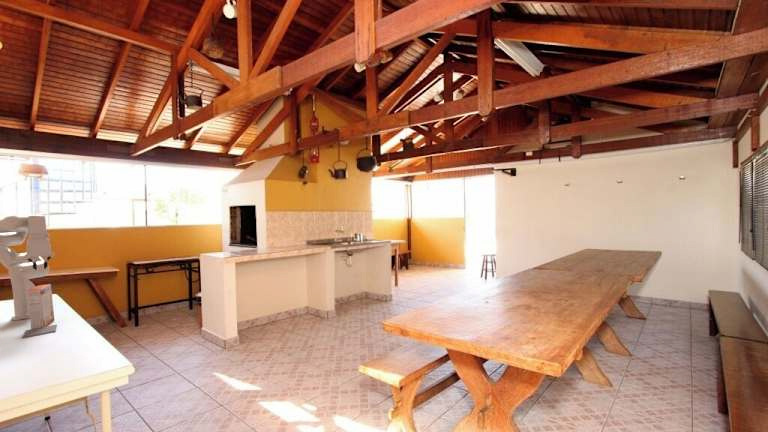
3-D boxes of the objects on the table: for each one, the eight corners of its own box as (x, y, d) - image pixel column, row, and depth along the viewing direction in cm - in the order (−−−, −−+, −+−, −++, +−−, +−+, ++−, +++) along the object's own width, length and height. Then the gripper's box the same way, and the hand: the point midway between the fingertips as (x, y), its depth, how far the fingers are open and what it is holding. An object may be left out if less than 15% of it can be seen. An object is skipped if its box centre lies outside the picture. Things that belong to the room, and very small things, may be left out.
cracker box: (41, 322, 204) (38, 285, 203) (55, 320, 207) (52, 283, 206) (29, 329, 191) (26, 290, 190) (44, 327, 194) (41, 288, 193)
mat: (25, 331, 189) (25, 330, 189) (56, 325, 197) (56, 324, 197) (22, 338, 178) (22, 337, 178) (55, 331, 186) (55, 330, 186)
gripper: (57, 235, 215) (60, 266, 216) (18, 238, 205) (21, 270, 206) (56, 235, 209) (59, 267, 210) (16, 238, 199) (19, 272, 200)
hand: (40, 268), depth 208 cm, fingers open, 3 cm apart
